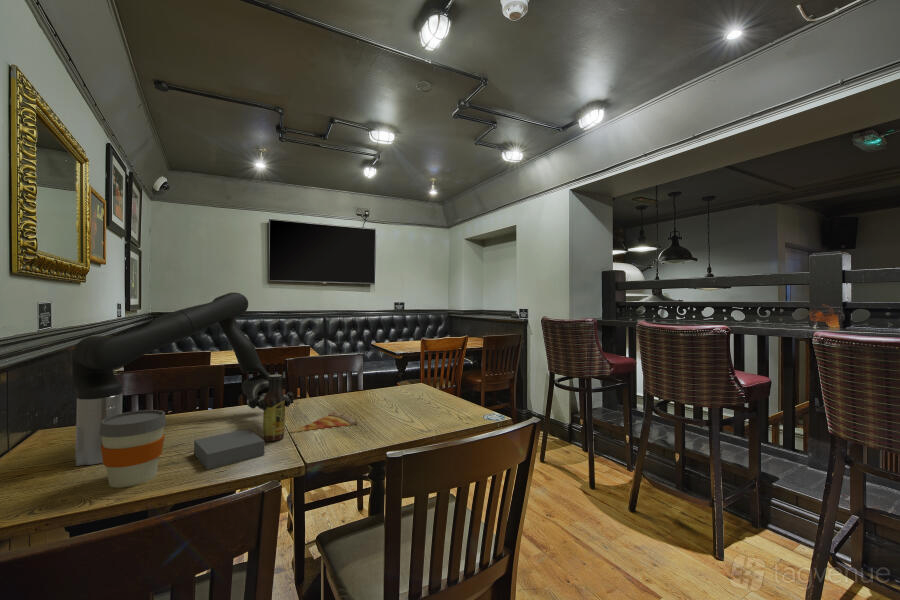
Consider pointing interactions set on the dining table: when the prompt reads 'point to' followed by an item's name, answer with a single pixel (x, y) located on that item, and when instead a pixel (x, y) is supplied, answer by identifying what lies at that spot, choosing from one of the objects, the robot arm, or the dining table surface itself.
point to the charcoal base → (228, 448)
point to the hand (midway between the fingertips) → (276, 405)
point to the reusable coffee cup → (132, 446)
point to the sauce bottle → (274, 410)
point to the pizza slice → (328, 422)
